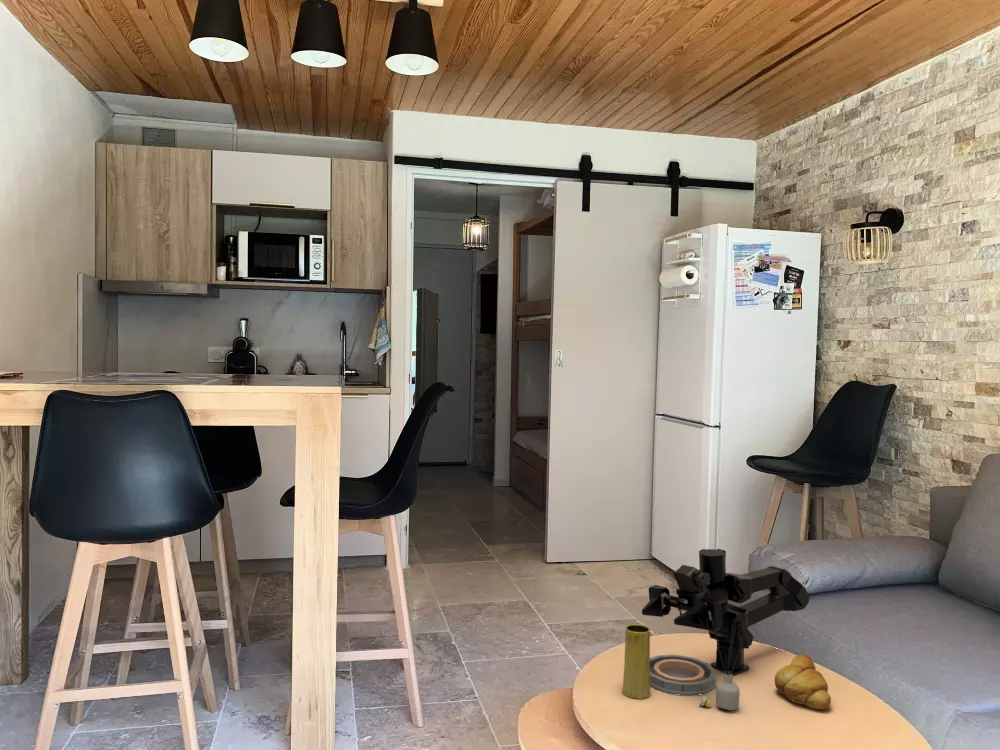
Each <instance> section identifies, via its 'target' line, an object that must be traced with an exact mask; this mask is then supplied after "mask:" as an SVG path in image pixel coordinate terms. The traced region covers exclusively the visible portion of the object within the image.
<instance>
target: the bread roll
mask: <svg viewBox="0 0 1000 750" xmlns="http://www.w3.org/2000/svg"><path fill="white" fill-rule="evenodd" d="M774 685H775V688H776V689H777V690H778V692H780V693H781V694H783V695H784V696H785V697H786V698H787V699H789V700H790V701H792V702H793V703H795V704H799V705H805V706H806V707H808V708H810V709H815V710H827V708H829V706H830V705H831V701H832V697H831V695H830V693H829V692H828V691H829V685H828V682H827V680H826V679H825V677H824V676H823V674H822V673H821V672H820V671H819V670H817V668H816V664H815V663H814V661H813V659H812V658H811V657H810V656H808V655H806V654H804V653H801V654H800V653H799V654H797V655H795V656H794V657H793V658H792V660H791V662H790V664H788V665H785V666H783V667H781V668H779V669H778V670H777V671H776V673H775V675H774Z"/></svg>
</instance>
